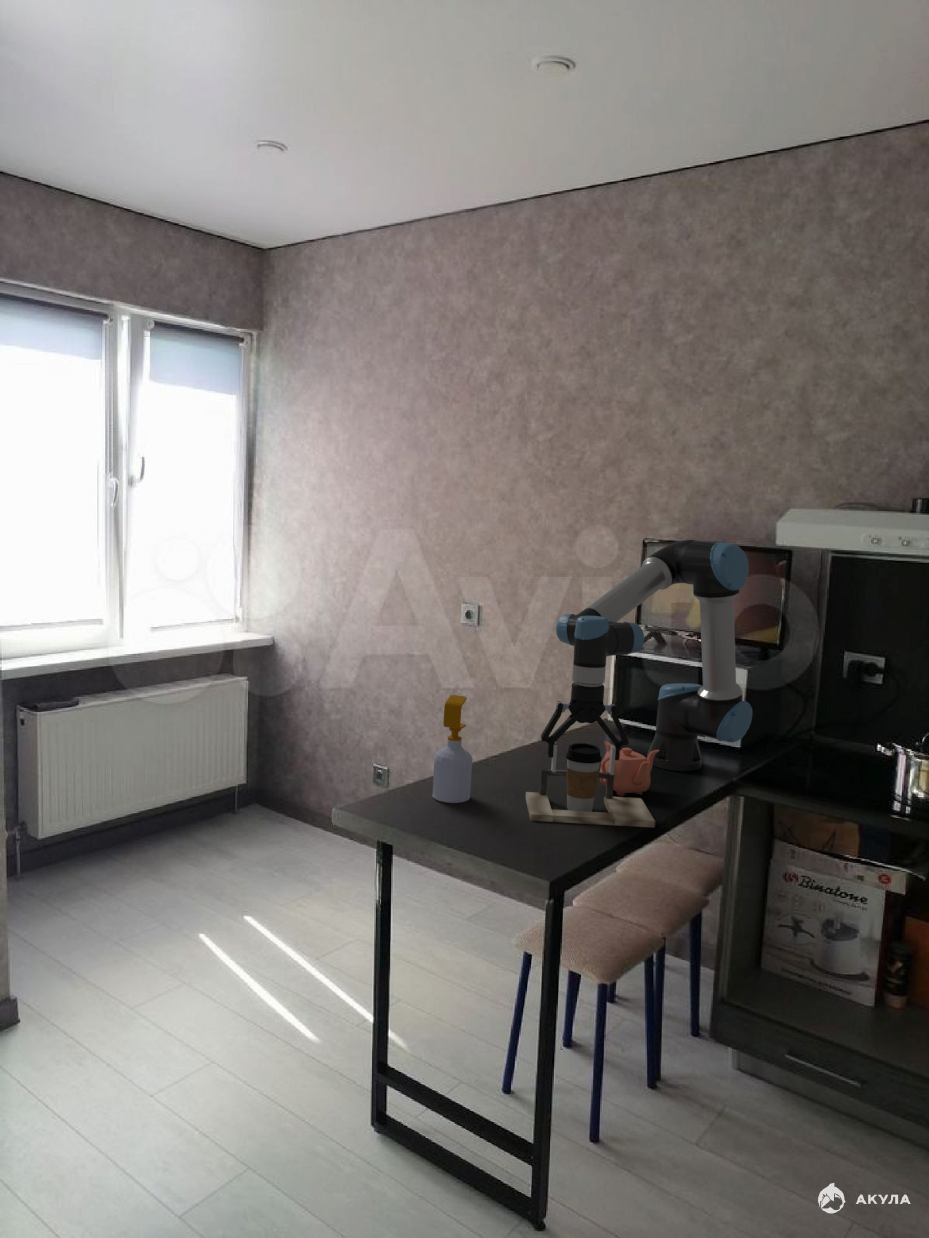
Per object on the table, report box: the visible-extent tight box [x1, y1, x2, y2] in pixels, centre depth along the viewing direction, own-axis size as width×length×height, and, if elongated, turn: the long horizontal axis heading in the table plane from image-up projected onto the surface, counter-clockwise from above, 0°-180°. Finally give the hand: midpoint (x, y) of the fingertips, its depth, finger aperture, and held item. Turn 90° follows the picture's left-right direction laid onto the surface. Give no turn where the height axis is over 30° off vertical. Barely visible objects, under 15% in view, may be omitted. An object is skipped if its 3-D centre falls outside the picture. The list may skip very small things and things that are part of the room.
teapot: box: [599, 740, 659, 797], centre depth 230 cm, size 14×14×11 cm
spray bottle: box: [431, 694, 473, 804], centre depth 216 cm, size 9×9×25 cm
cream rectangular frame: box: [525, 768, 656, 828], centre depth 212 cm, size 28×16×8 cm, turn 90°
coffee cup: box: [565, 742, 603, 812], centre depth 213 cm, size 8×8×15 cm
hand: (582, 772), depth 213 cm, fingers open, 13 cm apart
